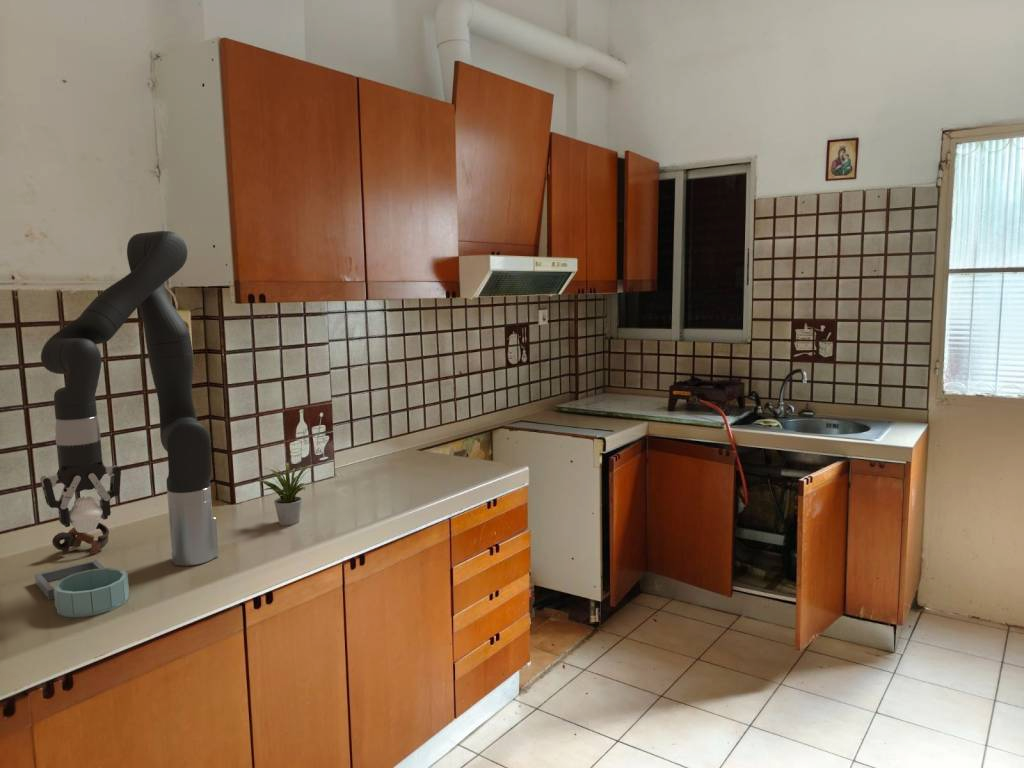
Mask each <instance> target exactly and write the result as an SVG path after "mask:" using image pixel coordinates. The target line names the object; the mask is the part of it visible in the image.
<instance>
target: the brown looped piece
mask: <svg viewBox="0 0 1024 768" xmlns="http://www.w3.org/2000/svg"><path fill="white" fill-rule="evenodd" d="M95 530H100V531H101V533H102V535H99V536H98V537H97V539H96V540H95V535H93V534H89V533H88V532H85V533H80V532H77V531H76V529H75V528H74V527H73V526H72V528H71V529H69V531H68V532H58V533H57V534H55V535H54V537H53V538H52V543H51V544H52V545H53V547H54V548H55V549H57V550H58V551H59V550H60V551H62V553H63V554H69V553H70V548H75V547H78V548H79V547H81V544H82V542H84V543H86V544H89V545H91V548H90V550H89V554H91V555H97V553H99V552H100V550H102V549H103V548H105V546H106V545H107V544H108V543H109V539H110V538H109V534H110V530H109V528H108V527H107V526H106V525H105V524H103V523H101V522H99V523H98V525H97V527H96V529H95ZM61 541H63V542H62V543H61Z"/></svg>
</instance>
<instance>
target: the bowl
mask: <svg viewBox="0 0 1024 768" xmlns="http://www.w3.org/2000/svg"><path fill="white" fill-rule="evenodd" d="M52 588H54V598H55V599H54V605H55V608H56V613H57V614H58V615H59V616H60V617H63V618H64V617H66V618H73V619H74V618H77V619H78V618H87V617H94V616H98V615H102V614H105V613H108V611H109V612H111V611H114V610H116V609H117V608H120V607H122V606H123V605H124V604H126V602H127V601H128V600H129V594H130V589H129V588H130V587H129V576H128V573H127V571H125V570H124V569H123V568H116V567H104V568H101V569H92V570H87V571H83V572H79V573H74V574H72V575H70V576H67V577H65V578H62V579H58V581H56V583H55V584H54V585H53V587H52ZM121 605H122V606H121ZM115 608H116V609H115ZM113 609H114V610H113Z"/></svg>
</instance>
